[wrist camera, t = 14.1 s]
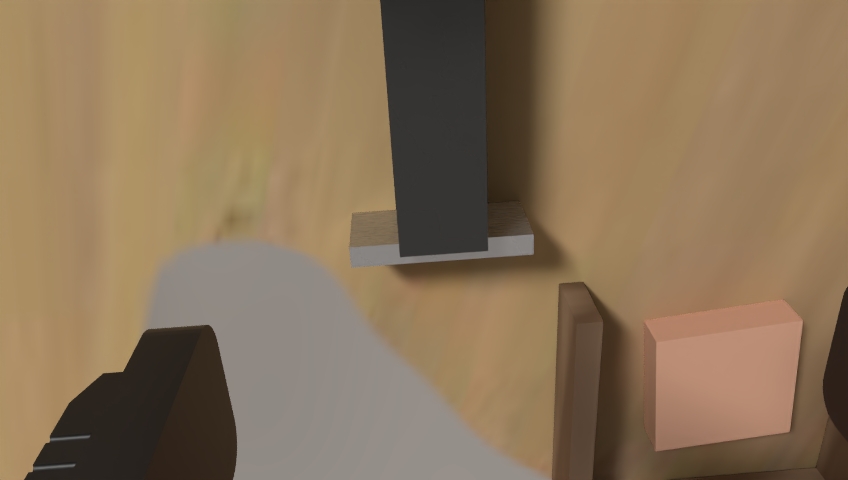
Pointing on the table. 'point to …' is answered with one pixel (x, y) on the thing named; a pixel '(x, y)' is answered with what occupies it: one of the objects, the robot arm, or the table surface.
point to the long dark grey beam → (437, 144)
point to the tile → (720, 374)
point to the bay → (578, 399)
